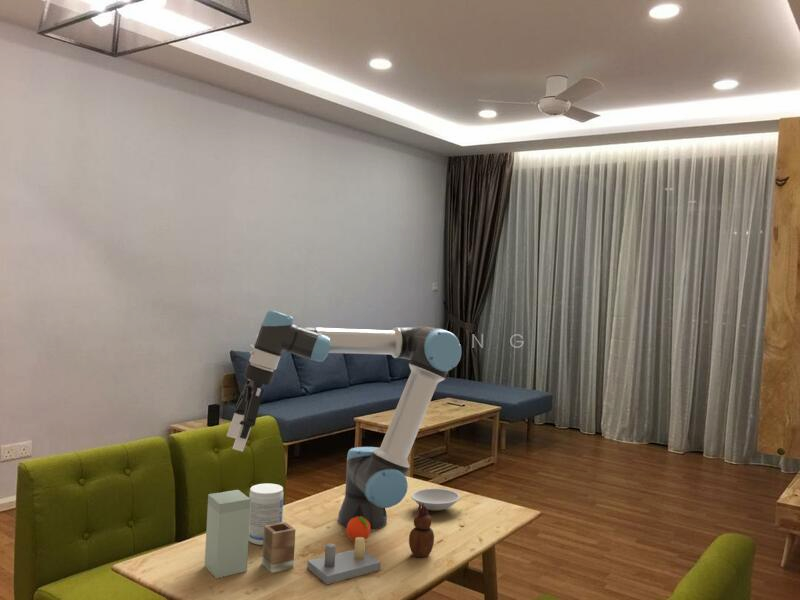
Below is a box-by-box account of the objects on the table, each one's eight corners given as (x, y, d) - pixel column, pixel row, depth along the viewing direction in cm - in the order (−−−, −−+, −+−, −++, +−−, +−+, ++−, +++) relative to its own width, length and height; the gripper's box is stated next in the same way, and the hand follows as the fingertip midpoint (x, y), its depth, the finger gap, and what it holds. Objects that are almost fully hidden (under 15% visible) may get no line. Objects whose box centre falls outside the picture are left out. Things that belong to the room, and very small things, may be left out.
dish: (441, 499, 222) (442, 485, 222) (469, 513, 210) (470, 498, 210) (401, 507, 212) (402, 492, 212) (427, 522, 200) (428, 506, 200)
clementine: (377, 543, 182) (378, 518, 182) (358, 549, 177) (359, 523, 177) (360, 534, 188) (361, 510, 188) (341, 539, 183) (342, 514, 183)
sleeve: (283, 558, 168) (285, 521, 168) (293, 567, 163) (295, 529, 163) (262, 563, 165) (264, 525, 164) (271, 573, 160) (274, 533, 159)
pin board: (359, 555, 173) (361, 529, 173) (380, 569, 165) (381, 543, 165) (307, 568, 163) (308, 541, 163) (326, 584, 155) (328, 556, 155)
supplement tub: (286, 542, 178) (289, 491, 178) (254, 548, 173) (257, 495, 173) (273, 530, 187) (276, 481, 186) (242, 536, 181) (244, 485, 181)
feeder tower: (235, 558, 167) (239, 489, 166) (248, 570, 160) (251, 498, 160) (204, 565, 162) (208, 494, 161) (215, 578, 155) (219, 504, 155)
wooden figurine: (415, 561, 171) (418, 506, 171) (405, 552, 177) (408, 499, 176) (436, 557, 175) (439, 503, 174) (426, 549, 180) (429, 496, 179)
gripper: (242, 357, 180) (216, 429, 178) (255, 369, 157) (225, 452, 155) (267, 365, 183) (241, 435, 181) (283, 378, 159) (255, 459, 158)
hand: (234, 443), depth 168 cm, fingers open, 13 cm apart
